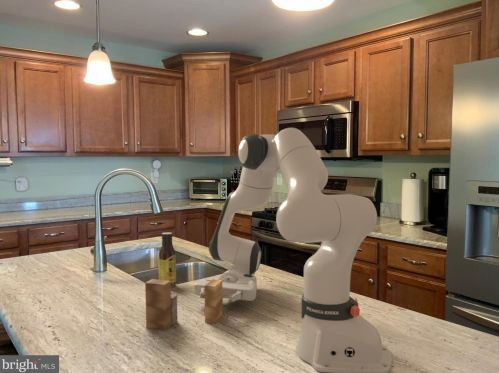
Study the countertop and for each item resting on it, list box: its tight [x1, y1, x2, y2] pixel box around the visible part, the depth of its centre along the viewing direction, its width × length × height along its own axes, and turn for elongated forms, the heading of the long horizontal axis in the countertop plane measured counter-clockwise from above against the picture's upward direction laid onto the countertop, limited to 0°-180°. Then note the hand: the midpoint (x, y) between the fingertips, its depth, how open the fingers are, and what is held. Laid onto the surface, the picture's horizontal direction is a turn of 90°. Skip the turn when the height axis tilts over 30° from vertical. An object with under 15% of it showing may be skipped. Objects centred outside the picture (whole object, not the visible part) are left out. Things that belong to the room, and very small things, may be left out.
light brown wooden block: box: [204, 278, 224, 325], centre depth 118 cm, size 3×6×11 cm, turn 163°
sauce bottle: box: [158, 232, 177, 288], centre depth 148 cm, size 7×6×20 cm
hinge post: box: [144, 278, 178, 331], centre depth 114 cm, size 7×6×13 cm
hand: (216, 297), depth 119 cm, fingers open, 8 cm apart
